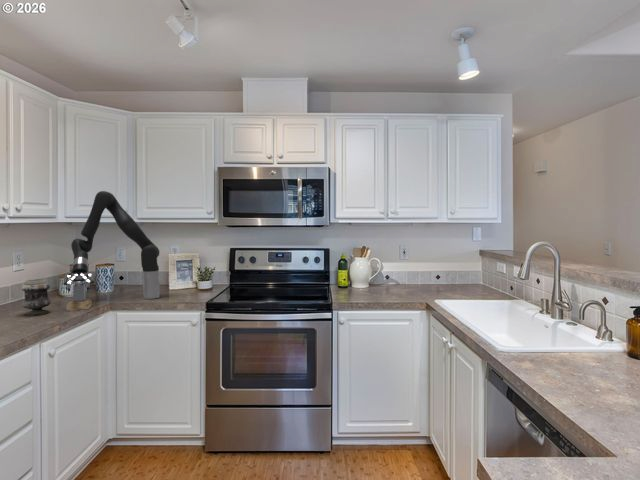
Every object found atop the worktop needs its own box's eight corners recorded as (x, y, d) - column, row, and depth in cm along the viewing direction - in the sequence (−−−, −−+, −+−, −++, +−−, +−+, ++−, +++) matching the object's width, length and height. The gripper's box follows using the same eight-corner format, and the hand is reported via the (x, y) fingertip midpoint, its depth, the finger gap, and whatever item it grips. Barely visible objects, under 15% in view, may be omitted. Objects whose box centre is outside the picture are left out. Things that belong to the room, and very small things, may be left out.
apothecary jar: (46, 309, 200) (45, 277, 199) (55, 312, 193) (53, 279, 192) (18, 314, 190) (17, 280, 189) (27, 317, 183) (25, 282, 182)
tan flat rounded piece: (91, 305, 210) (91, 298, 209) (88, 309, 200) (87, 302, 200) (71, 307, 206) (70, 300, 206) (66, 311, 196) (66, 303, 196)
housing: (86, 299, 207) (85, 280, 206) (85, 301, 202) (84, 281, 201) (74, 300, 204) (73, 281, 204) (72, 302, 199) (71, 282, 199)
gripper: (64, 263, 205) (61, 286, 195) (94, 262, 212) (93, 284, 202) (66, 271, 210) (63, 294, 200) (95, 270, 217) (94, 292, 207)
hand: (78, 289), depth 201 cm, fingers open, 8 cm apart
